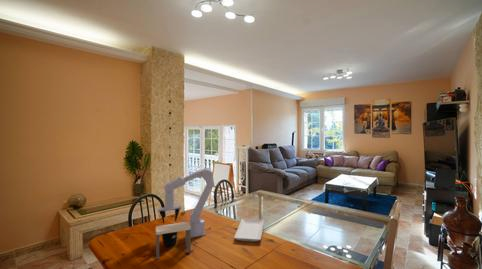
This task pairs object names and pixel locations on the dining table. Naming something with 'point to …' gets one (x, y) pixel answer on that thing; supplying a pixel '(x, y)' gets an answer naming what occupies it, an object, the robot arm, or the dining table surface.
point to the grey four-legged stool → (174, 228)
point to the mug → (169, 239)
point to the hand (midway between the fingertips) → (169, 221)
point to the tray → (249, 230)
